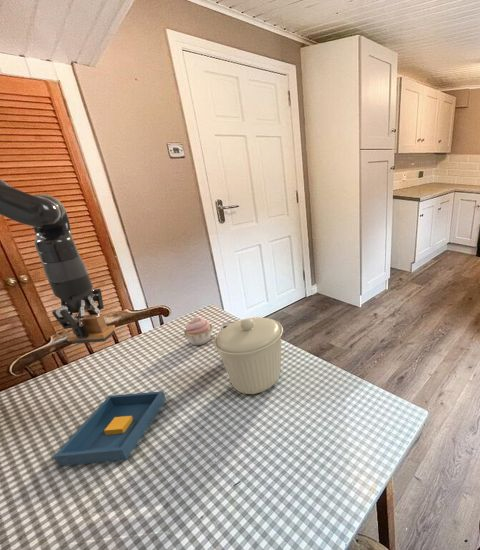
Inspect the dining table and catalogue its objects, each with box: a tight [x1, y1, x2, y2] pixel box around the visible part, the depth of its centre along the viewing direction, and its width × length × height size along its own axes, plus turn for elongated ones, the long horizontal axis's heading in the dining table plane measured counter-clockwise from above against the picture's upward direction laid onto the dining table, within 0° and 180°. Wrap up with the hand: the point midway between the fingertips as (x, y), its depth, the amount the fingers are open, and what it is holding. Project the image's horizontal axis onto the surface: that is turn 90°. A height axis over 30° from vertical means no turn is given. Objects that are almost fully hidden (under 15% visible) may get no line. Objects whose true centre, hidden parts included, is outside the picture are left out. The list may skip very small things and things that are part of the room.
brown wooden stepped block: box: [65, 313, 117, 345], centre depth 83 cm, size 9×5×7 cm, turn 98°
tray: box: [53, 390, 167, 468], centre depth 74 cm, size 14×18×4 cm
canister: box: [213, 316, 284, 395], centre depth 86 cm, size 18×18×21 cm
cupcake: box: [183, 316, 213, 346], centre depth 108 cm, size 9×9×10 cm
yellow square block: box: [104, 416, 133, 435], centre depth 74 cm, size 4×4×2 cm
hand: (91, 331), depth 84 cm, fingers closed on brown wooden stepped block, 5 cm apart
